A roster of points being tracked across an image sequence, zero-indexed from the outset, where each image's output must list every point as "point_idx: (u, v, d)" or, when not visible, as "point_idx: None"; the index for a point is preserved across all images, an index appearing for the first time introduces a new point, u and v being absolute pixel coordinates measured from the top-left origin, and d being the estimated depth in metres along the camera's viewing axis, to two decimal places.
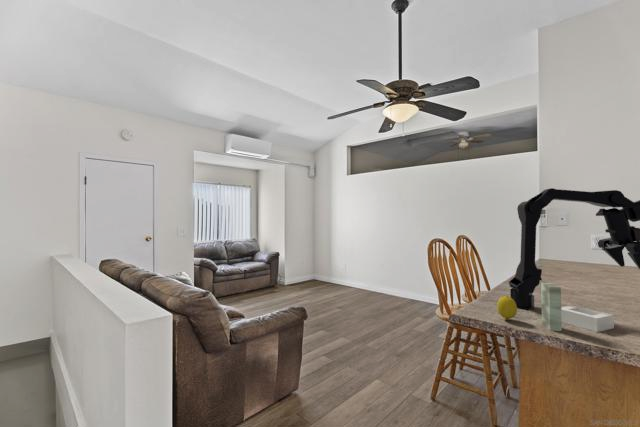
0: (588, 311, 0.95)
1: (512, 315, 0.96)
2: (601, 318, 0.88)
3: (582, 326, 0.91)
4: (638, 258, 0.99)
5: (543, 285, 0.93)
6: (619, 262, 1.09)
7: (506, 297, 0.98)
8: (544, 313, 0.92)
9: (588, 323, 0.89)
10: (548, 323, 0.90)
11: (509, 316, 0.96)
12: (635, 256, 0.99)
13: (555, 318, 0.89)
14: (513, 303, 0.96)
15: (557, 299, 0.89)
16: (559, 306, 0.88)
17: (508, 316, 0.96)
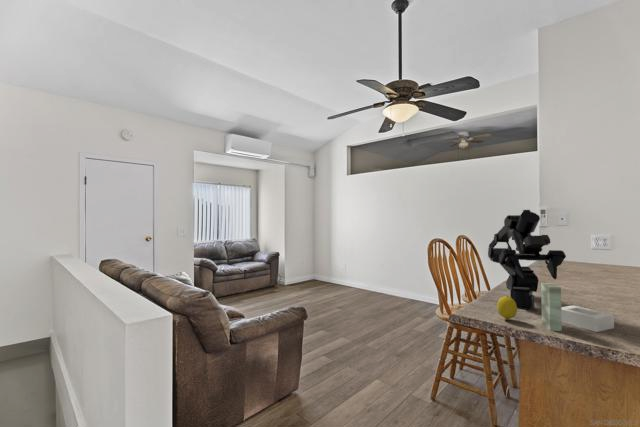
0: (588, 311, 0.95)
1: (512, 315, 0.96)
2: (601, 318, 0.88)
3: (582, 326, 0.91)
4: (514, 267, 1.04)
5: (543, 285, 0.93)
6: (552, 275, 0.99)
7: (506, 297, 0.98)
8: (544, 313, 0.92)
9: (588, 323, 0.89)
10: (548, 323, 0.90)
11: (509, 316, 0.96)
12: (511, 266, 1.05)
13: (555, 318, 0.89)
14: (513, 303, 0.96)
15: (557, 299, 0.89)
16: (559, 306, 0.88)
17: (508, 316, 0.96)
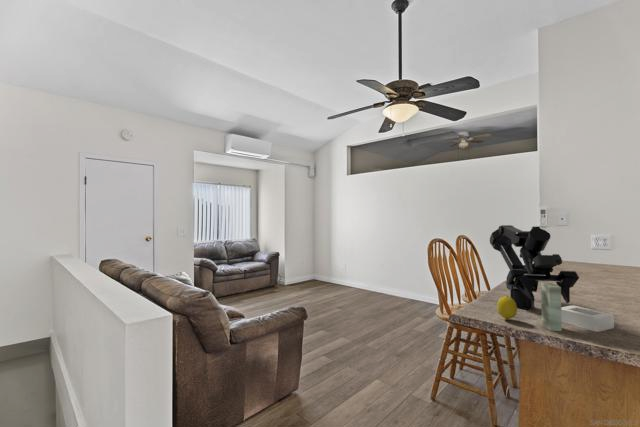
0: (588, 311, 0.95)
1: (512, 315, 0.96)
2: (601, 318, 0.88)
3: (582, 326, 0.91)
4: (523, 289, 0.97)
5: (543, 285, 0.93)
6: (564, 298, 0.92)
7: (506, 297, 0.98)
8: (544, 313, 0.92)
9: (588, 323, 0.89)
10: (548, 323, 0.90)
11: (509, 316, 0.96)
12: (519, 288, 0.98)
13: (555, 318, 0.89)
14: (513, 303, 0.96)
15: (557, 299, 0.89)
16: (559, 306, 0.88)
17: (508, 316, 0.96)
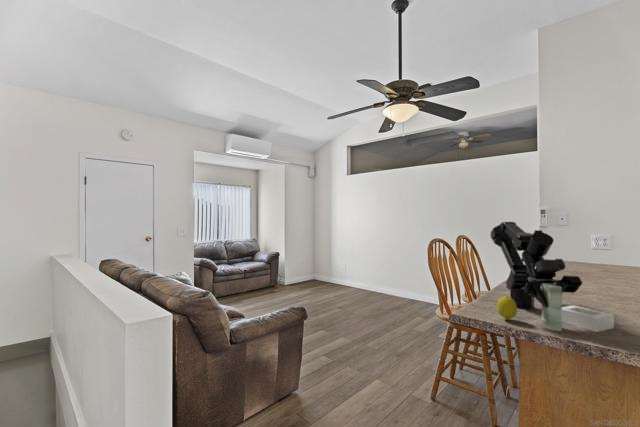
0: (588, 311, 0.95)
1: (512, 315, 0.96)
2: (601, 318, 0.88)
3: (582, 326, 0.91)
4: (535, 294, 0.94)
5: (544, 285, 0.92)
6: None
7: (506, 297, 0.98)
8: (544, 313, 0.92)
9: (588, 323, 0.89)
10: (548, 323, 0.90)
11: (509, 316, 0.96)
12: (531, 293, 0.96)
13: (555, 318, 0.89)
14: (513, 303, 0.96)
15: (558, 299, 0.89)
16: (559, 306, 0.88)
17: (508, 316, 0.96)
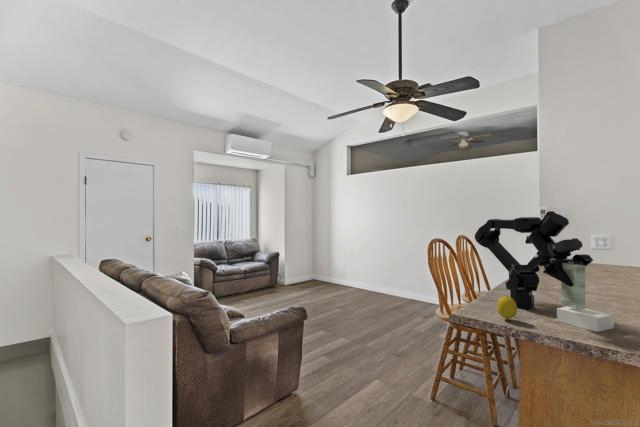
0: (588, 311, 0.95)
1: (512, 315, 0.96)
2: (601, 318, 0.88)
3: (582, 326, 0.91)
4: (556, 274, 0.94)
5: (565, 265, 0.93)
6: None
7: (506, 297, 0.98)
8: (566, 292, 0.92)
9: (588, 323, 0.89)
10: (573, 302, 0.90)
11: (509, 316, 0.96)
12: (551, 274, 0.95)
13: (580, 297, 0.89)
14: (513, 303, 0.96)
15: (582, 278, 0.89)
16: (583, 284, 0.89)
17: (508, 316, 0.96)
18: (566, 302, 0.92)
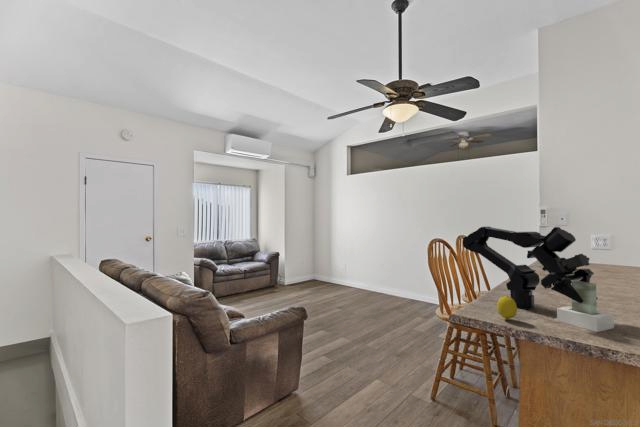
0: None
1: (512, 315, 0.96)
2: (601, 318, 0.88)
3: (582, 326, 0.91)
4: (564, 291, 0.94)
5: (576, 283, 0.94)
6: None
7: (506, 297, 0.98)
8: (578, 311, 0.94)
9: (588, 323, 0.89)
10: None
11: (509, 316, 0.96)
12: (559, 290, 0.95)
13: None
14: (513, 303, 0.96)
15: (594, 296, 0.92)
16: (595, 302, 0.92)
17: (508, 316, 0.96)
18: None
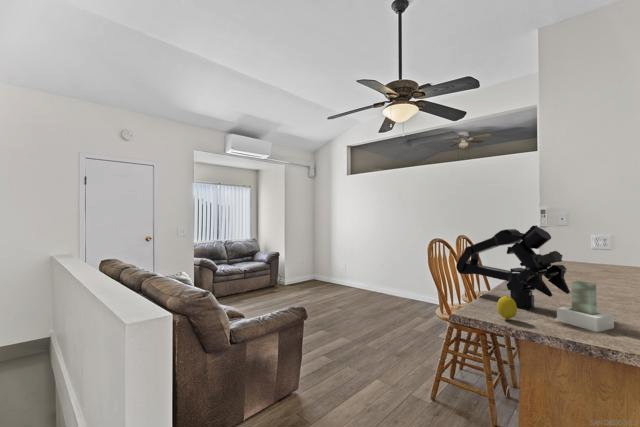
0: None
1: (512, 315, 0.96)
2: (601, 318, 0.88)
3: (582, 326, 0.91)
4: (536, 285, 1.02)
5: (576, 283, 0.94)
6: (563, 290, 1.03)
7: (506, 297, 0.98)
8: (578, 311, 0.94)
9: (588, 323, 0.89)
10: None
11: (509, 316, 0.96)
12: (531, 284, 1.03)
13: None
14: (513, 303, 0.96)
15: (594, 296, 0.92)
16: (595, 302, 0.92)
17: (508, 316, 0.96)
18: None
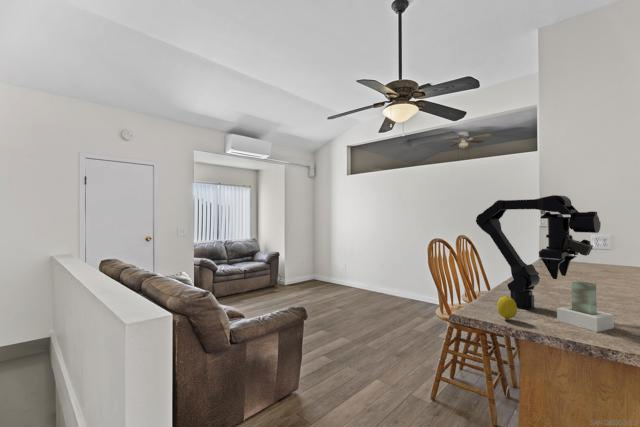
0: None
1: (512, 315, 0.96)
2: (601, 318, 0.88)
3: (582, 326, 0.91)
4: (549, 265, 1.00)
5: (576, 283, 0.94)
6: (561, 270, 1.05)
7: (506, 297, 0.98)
8: (578, 311, 0.94)
9: (588, 323, 0.89)
10: None
11: (509, 316, 0.96)
12: (545, 262, 1.00)
13: None
14: (513, 303, 0.96)
15: (594, 296, 0.92)
16: (595, 302, 0.92)
17: (508, 316, 0.96)
18: None
